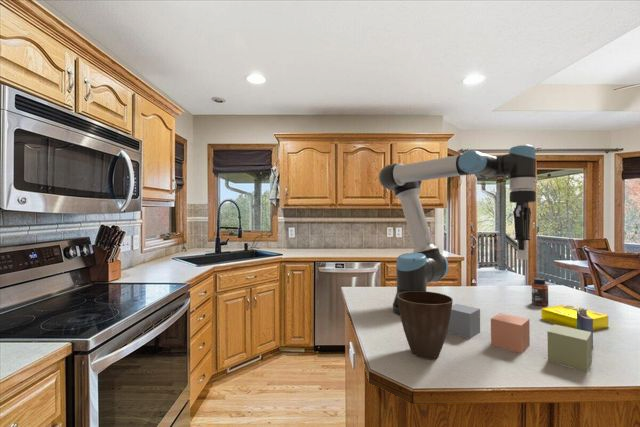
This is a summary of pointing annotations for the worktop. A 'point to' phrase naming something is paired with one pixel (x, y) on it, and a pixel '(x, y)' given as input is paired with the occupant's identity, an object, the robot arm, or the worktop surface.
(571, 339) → the olive block
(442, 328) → the plant pot
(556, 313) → the element tile
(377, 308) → the worktop surface
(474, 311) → the slate block
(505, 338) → the terracotta block
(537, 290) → the supplement bottle
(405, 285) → the robot arm
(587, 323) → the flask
